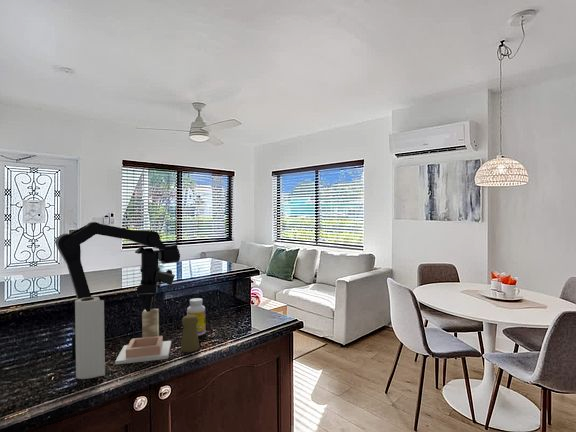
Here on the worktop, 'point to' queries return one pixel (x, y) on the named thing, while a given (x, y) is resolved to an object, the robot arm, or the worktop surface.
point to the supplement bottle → (198, 314)
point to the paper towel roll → (89, 337)
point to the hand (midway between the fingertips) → (150, 308)
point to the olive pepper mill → (190, 334)
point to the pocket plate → (144, 350)
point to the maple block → (150, 323)
